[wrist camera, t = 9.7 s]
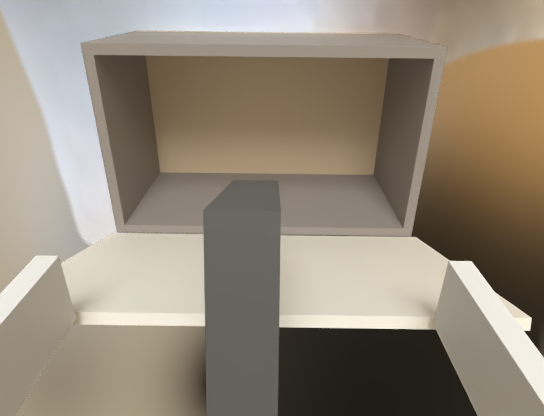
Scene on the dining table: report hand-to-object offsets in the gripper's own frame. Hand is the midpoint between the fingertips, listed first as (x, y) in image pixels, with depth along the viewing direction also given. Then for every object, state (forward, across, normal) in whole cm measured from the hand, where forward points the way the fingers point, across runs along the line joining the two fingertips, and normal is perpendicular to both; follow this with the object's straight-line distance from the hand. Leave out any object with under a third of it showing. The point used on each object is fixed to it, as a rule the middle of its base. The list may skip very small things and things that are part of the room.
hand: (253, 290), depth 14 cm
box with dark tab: (+5, 0, +2) cm, 6 cm away
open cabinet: (+22, 0, +1) cm, 23 cm away
